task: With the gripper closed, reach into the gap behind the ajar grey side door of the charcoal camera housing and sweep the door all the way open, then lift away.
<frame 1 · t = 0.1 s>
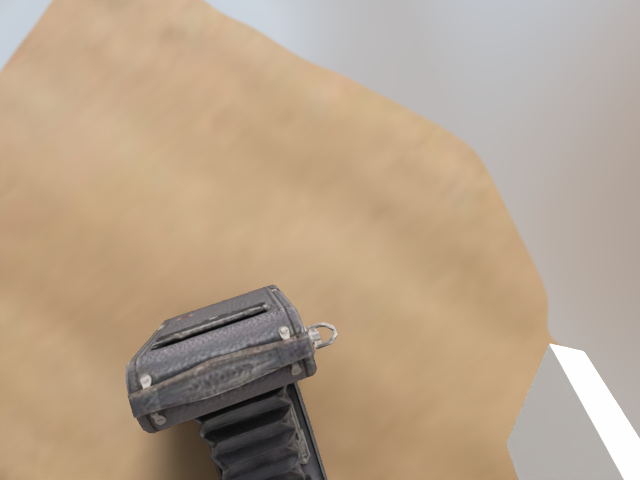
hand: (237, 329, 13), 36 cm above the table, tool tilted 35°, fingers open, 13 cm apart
camera: (260, 401, 47), on the table
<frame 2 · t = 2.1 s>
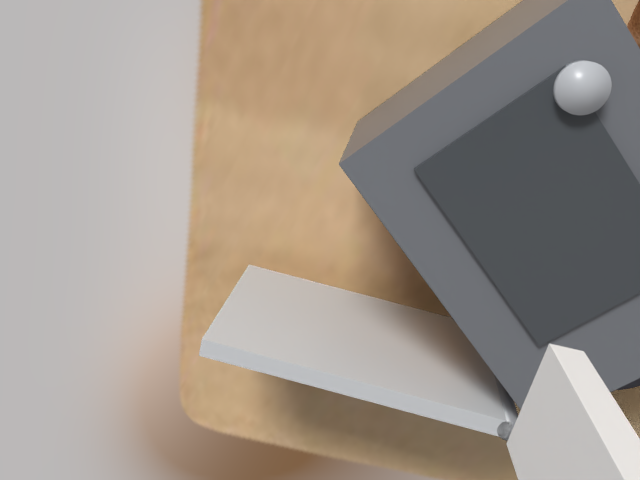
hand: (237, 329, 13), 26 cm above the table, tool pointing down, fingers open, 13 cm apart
door: (363, 345, 35), point 6 cm above the table, hinge at 40.0°
camera housing: (513, 169, 37), on the table
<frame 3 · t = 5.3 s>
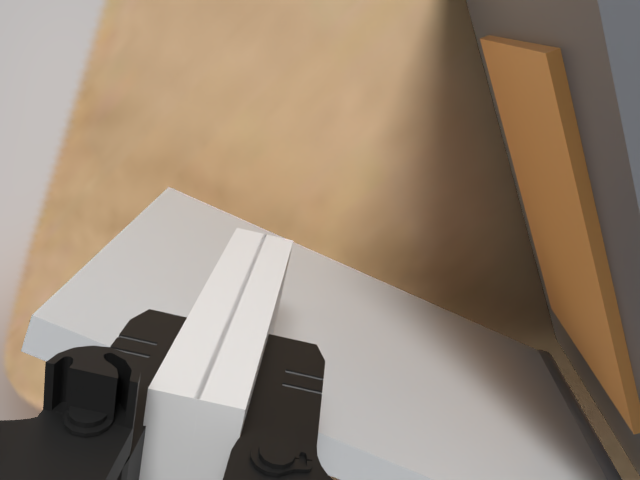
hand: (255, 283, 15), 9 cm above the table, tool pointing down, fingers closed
door: (361, 365, 19), point 7 cm above the table, hinge at 45.3°, touching gripper
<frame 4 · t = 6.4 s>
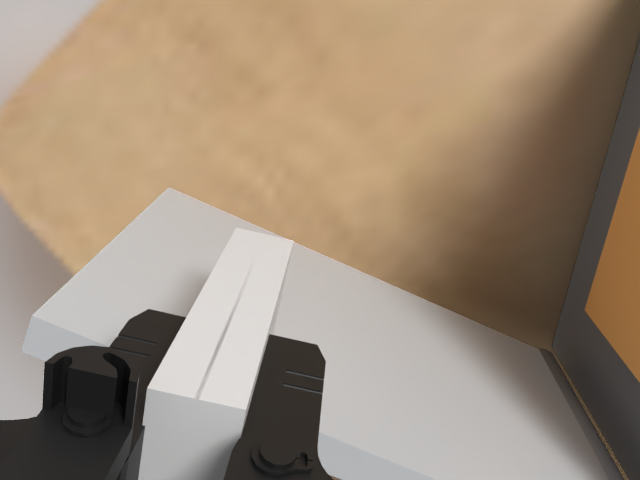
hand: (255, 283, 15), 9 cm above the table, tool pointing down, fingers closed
door: (362, 364, 19), point 7 cm above the table, hinge at 72.0°, touching gripper
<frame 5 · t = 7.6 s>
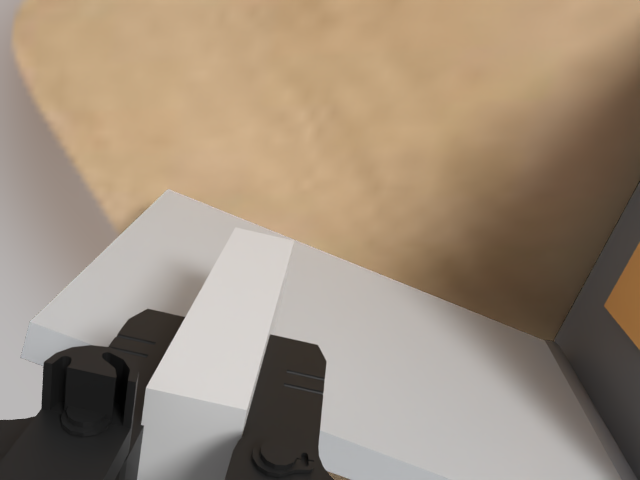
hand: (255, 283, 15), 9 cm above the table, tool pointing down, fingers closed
door: (365, 361, 19), point 7 cm above the table, hinge at 85.2°, touching gripper
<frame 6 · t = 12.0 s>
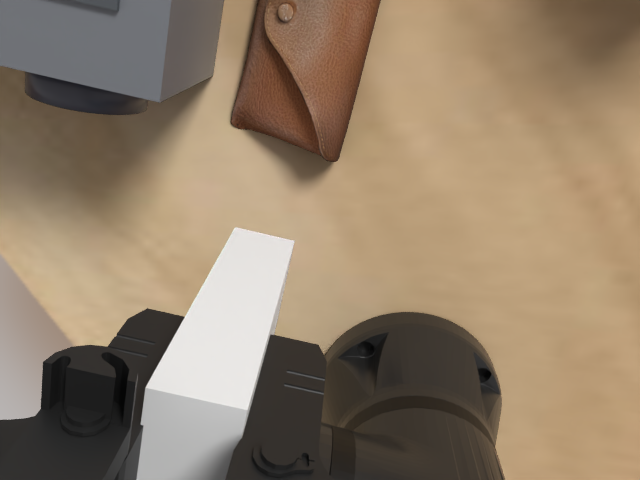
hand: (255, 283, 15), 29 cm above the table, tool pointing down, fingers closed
sunglasses case: (312, 17, 41), on the table
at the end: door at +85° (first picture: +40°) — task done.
